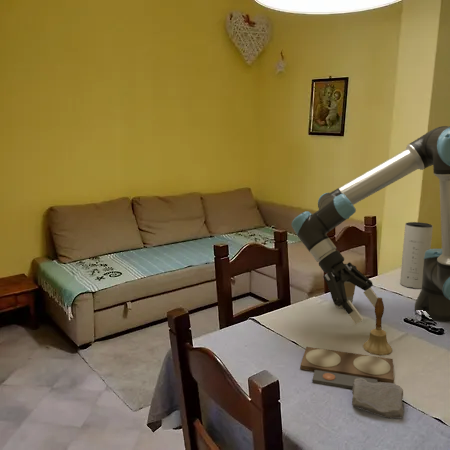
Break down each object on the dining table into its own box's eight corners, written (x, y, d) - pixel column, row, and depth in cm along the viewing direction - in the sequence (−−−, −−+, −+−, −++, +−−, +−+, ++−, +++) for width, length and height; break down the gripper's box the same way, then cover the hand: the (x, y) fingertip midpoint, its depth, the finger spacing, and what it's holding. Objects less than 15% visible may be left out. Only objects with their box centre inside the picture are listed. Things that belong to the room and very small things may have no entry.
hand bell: (371, 356, 129) (375, 304, 125) (357, 343, 137) (360, 294, 133) (397, 353, 130) (401, 302, 127) (382, 340, 138) (386, 292, 135)
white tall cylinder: (430, 284, 186) (436, 222, 180) (422, 291, 178) (428, 227, 173) (405, 278, 193) (409, 219, 187) (396, 285, 185) (400, 223, 180)
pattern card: (377, 382, 116) (377, 378, 116) (377, 393, 111) (377, 389, 111) (314, 372, 121) (314, 369, 121) (312, 382, 116) (312, 378, 116)
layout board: (392, 362, 125) (392, 357, 125) (393, 383, 115) (393, 378, 115) (306, 350, 133) (306, 345, 133) (300, 369, 123) (300, 364, 123)
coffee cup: (354, 301, 169) (356, 263, 166) (358, 311, 160) (361, 271, 157) (328, 300, 170) (330, 262, 167) (332, 310, 161) (333, 270, 158)
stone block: (404, 428, 102) (402, 395, 110) (405, 412, 100) (403, 380, 108) (350, 419, 105) (352, 389, 114) (350, 404, 104) (352, 374, 112)
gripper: (339, 254, 151) (379, 307, 144) (297, 272, 133) (340, 334, 126) (354, 241, 146) (396, 296, 139) (313, 258, 128) (359, 322, 121)
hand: (370, 314), depth 133 cm, fingers open, 13 cm apart
